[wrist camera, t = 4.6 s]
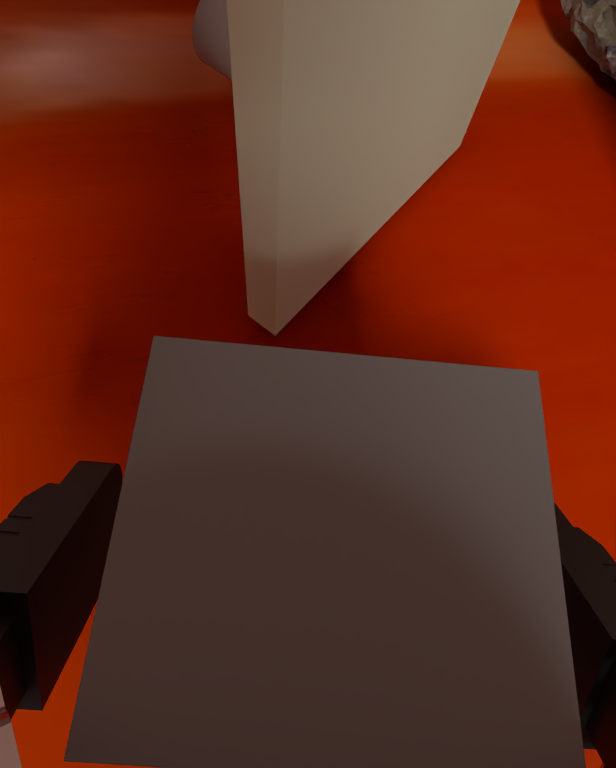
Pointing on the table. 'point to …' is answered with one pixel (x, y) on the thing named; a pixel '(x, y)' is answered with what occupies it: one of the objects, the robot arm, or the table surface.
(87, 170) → the table surface
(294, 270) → the door
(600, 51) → the mineral rock
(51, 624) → the robot arm
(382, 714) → the block
